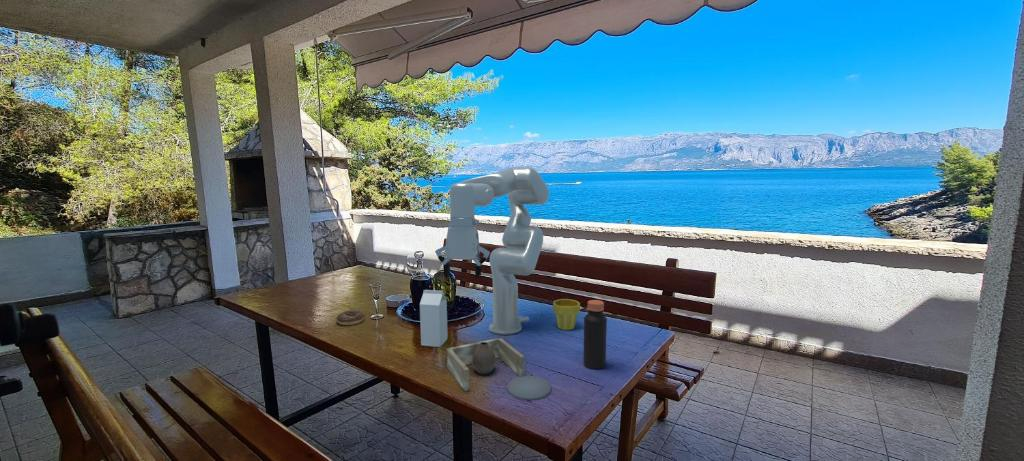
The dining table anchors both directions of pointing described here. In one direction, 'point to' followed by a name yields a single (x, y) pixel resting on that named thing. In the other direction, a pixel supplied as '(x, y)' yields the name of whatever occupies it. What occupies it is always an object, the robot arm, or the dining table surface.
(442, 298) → the milk carton
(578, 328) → the dining table surface
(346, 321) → the donut
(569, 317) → the plant pot
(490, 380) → the dining table surface
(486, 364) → the vase
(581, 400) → the dining table surface
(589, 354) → the bottle
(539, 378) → the mat
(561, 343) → the dining table surface
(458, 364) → the holder
